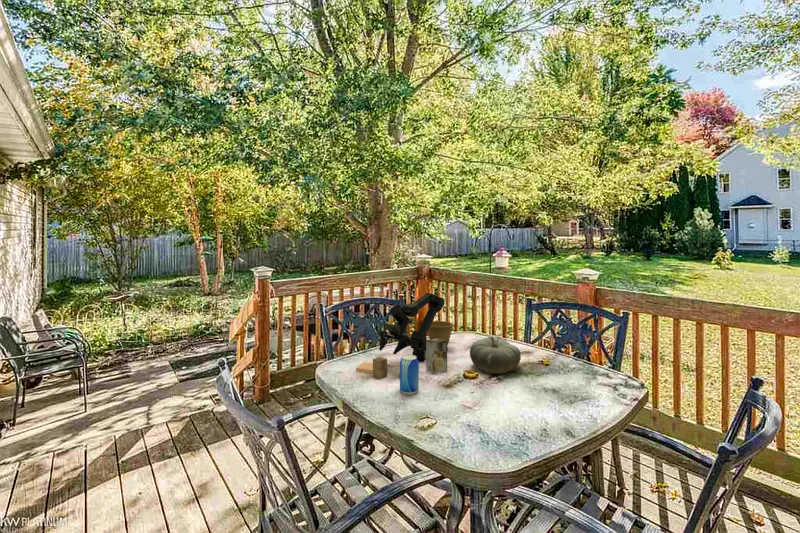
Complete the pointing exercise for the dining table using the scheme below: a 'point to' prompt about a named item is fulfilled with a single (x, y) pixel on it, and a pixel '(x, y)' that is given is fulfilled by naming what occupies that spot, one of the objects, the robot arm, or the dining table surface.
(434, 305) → the robot arm
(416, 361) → the beer can
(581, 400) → the dining table surface
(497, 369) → the gourd
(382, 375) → the walnut block
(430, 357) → the coffee box
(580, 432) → the dining table surface
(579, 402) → the dining table surface
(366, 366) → the terracotta tile
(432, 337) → the plant pot
